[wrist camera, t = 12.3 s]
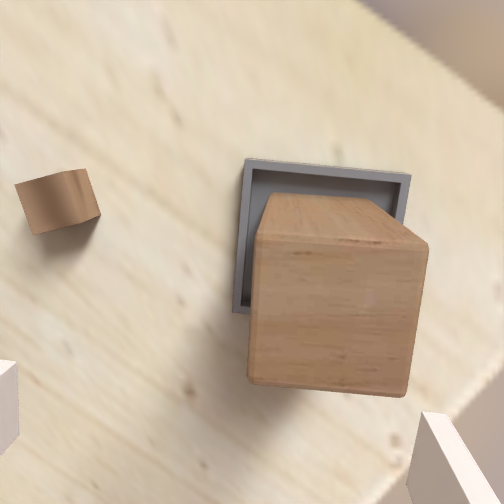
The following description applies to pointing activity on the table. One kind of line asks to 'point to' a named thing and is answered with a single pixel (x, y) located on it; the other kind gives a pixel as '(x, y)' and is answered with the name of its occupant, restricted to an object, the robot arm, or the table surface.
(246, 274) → the tray
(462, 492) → the robot arm
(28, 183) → the walnut cube
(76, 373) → the table surface
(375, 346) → the wooden block
